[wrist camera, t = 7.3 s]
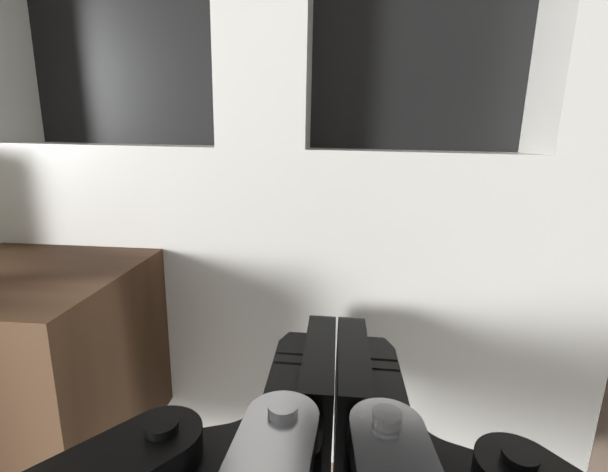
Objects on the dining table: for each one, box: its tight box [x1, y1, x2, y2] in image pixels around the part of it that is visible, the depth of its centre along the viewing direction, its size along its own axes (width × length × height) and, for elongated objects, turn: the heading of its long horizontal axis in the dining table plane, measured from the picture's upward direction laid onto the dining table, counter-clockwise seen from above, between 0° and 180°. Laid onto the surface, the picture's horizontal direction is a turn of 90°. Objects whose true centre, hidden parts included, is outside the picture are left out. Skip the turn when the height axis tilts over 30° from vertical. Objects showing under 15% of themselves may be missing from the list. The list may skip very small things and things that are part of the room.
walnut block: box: [0, 243, 173, 472], centre depth 10 cm, size 5×5×5 cm
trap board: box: [0, 0, 608, 472], centre depth 11 cm, size 20×18×5 cm
